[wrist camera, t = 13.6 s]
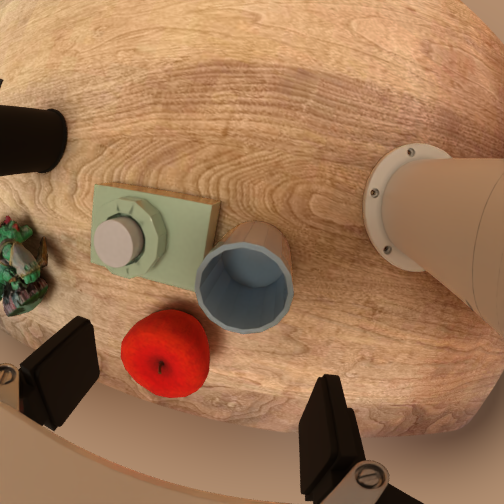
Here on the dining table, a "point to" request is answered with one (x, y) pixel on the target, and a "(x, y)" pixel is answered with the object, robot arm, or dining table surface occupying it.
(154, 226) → the push button box
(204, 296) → the cup
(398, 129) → the dining table surface
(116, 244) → the round grey push button
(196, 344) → the apple
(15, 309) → the figurine
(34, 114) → the aerosol can
